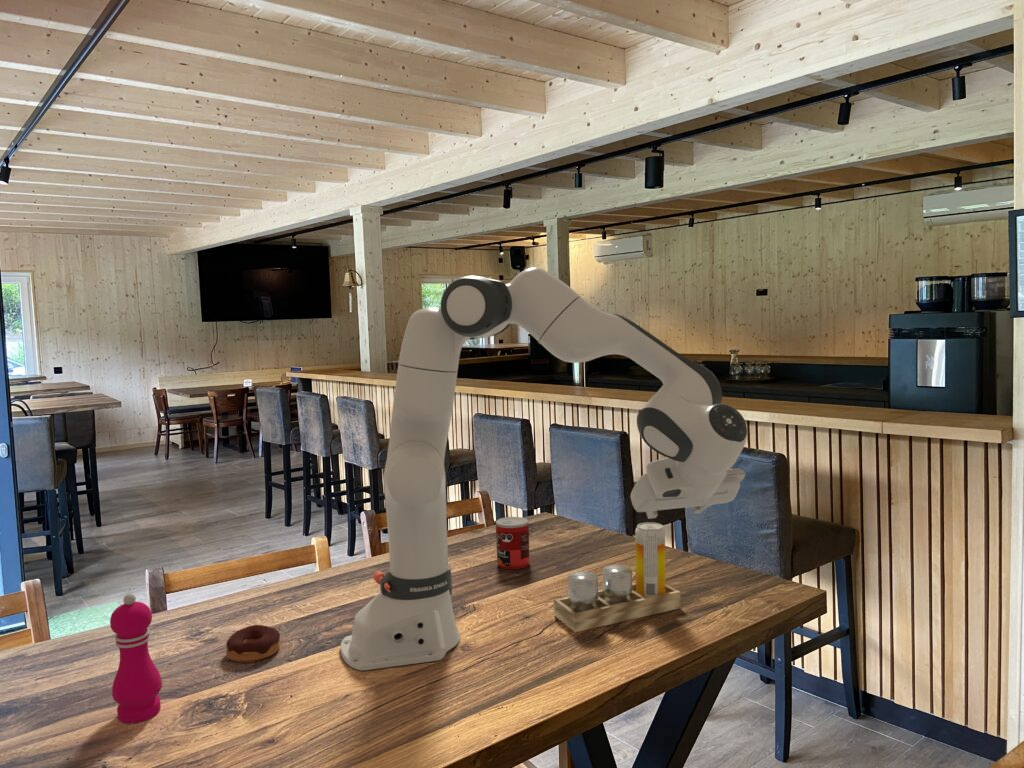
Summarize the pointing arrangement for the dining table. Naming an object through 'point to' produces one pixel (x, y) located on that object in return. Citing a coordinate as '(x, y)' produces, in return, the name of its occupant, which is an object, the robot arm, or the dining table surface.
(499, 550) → the canned food
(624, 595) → the seated canisters
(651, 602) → the compartment tray
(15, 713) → the dining table surface
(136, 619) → the pepper mill
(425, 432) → the robot arm
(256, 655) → the donut
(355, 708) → the dining table surface
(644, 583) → the beer can
